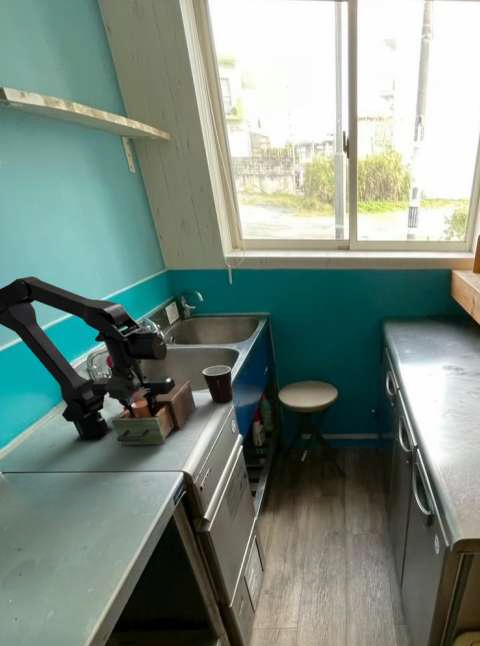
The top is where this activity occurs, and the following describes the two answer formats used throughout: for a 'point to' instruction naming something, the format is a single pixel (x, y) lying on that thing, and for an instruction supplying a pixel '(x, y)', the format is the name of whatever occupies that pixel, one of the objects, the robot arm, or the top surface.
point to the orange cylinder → (141, 409)
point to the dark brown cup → (219, 383)
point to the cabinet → (174, 402)
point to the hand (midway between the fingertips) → (144, 415)
